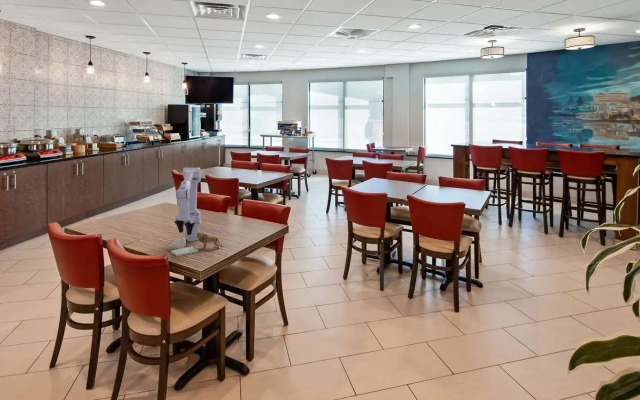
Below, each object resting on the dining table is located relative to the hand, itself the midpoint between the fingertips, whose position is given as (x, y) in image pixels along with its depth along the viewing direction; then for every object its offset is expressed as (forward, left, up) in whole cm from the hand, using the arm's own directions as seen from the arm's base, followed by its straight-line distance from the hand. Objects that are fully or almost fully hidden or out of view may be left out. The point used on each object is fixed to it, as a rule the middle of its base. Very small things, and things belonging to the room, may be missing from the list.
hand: (185, 233), depth 226 cm
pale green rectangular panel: (+6, -4, -9) cm, 11 cm away
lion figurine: (+7, +10, -9) cm, 16 cm away
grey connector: (-3, -4, -9) cm, 10 cm away
